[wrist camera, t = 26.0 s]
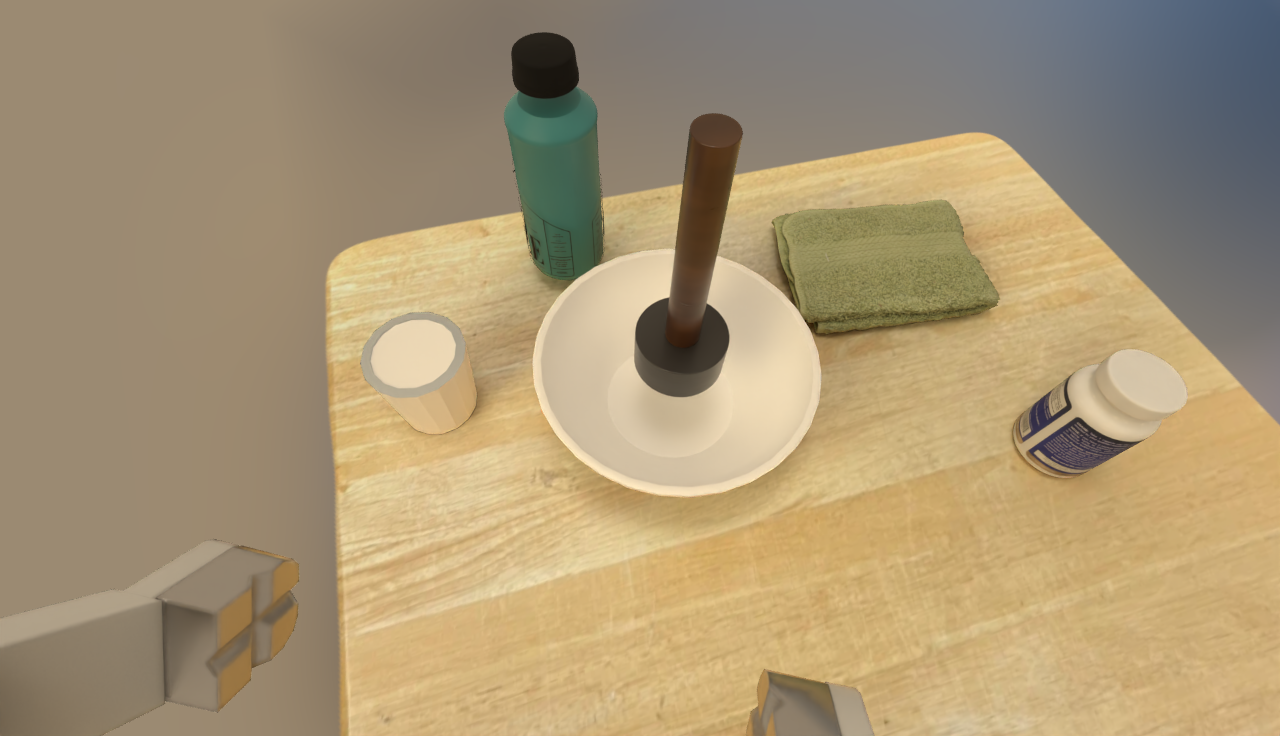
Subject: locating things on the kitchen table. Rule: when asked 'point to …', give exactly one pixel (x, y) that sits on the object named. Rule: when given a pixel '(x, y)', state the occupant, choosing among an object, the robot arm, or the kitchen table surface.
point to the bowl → (664, 425)
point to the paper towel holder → (692, 271)
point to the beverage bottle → (555, 157)
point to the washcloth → (881, 266)
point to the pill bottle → (1099, 413)
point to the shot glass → (422, 371)
